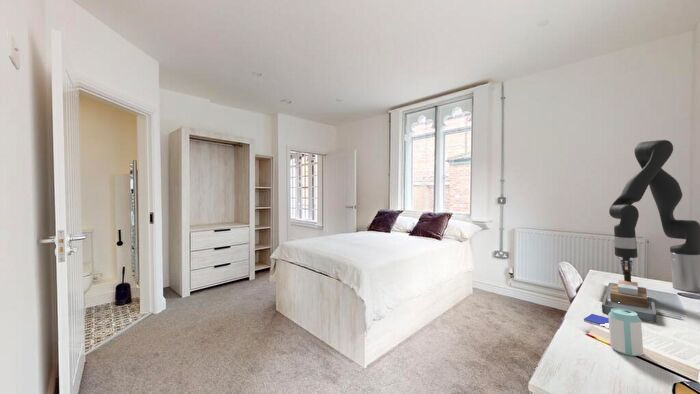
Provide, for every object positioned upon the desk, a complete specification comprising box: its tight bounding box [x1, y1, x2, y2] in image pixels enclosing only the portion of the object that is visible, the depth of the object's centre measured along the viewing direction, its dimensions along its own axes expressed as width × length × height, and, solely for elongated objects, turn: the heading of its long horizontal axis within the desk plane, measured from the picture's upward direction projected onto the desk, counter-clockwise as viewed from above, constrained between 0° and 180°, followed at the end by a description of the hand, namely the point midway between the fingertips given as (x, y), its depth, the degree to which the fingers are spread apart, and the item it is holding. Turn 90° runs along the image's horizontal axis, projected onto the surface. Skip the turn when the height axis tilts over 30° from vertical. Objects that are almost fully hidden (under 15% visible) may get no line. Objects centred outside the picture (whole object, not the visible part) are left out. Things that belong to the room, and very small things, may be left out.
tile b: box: [617, 283, 639, 295], centre depth 119 cm, size 6×6×2 cm
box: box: [601, 294, 658, 324], centre depth 109 cm, size 16×15×3 cm
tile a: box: [618, 279, 639, 287], centre depth 123 cm, size 6×6×2 cm
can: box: [607, 308, 644, 357], centre depth 82 cm, size 7×7×12 cm
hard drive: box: [583, 313, 609, 326], centre depth 99 cm, size 2×8×12 cm
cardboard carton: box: [609, 282, 649, 308], centre depth 121 cm, size 18×11×4 cm, turn 133°
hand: (627, 283), depth 126 cm, fingers closed
